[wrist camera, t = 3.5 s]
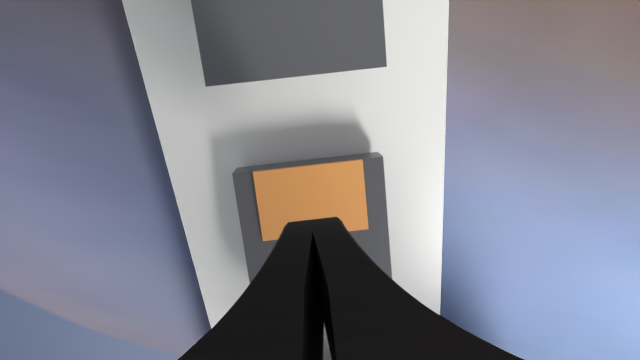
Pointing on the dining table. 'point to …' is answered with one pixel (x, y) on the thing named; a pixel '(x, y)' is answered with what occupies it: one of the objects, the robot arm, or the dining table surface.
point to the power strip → (300, 137)
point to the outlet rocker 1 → (287, 38)
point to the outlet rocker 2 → (313, 202)
